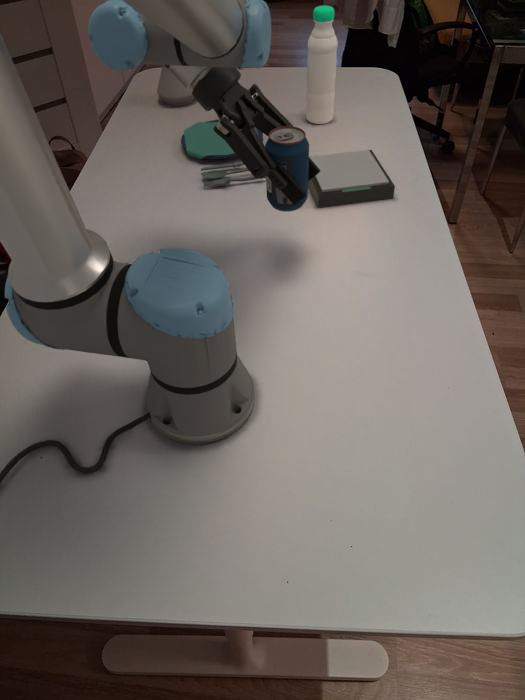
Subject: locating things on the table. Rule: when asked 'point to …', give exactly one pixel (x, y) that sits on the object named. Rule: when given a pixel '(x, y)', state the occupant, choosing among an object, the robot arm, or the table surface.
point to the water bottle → (321, 67)
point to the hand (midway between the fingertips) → (307, 187)
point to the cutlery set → (212, 151)
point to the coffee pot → (173, 89)
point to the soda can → (288, 163)
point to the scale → (349, 179)
